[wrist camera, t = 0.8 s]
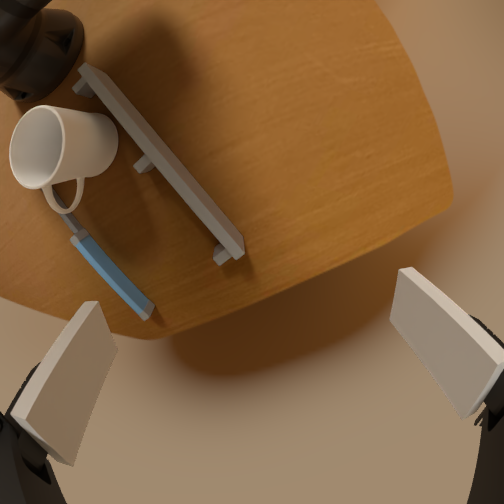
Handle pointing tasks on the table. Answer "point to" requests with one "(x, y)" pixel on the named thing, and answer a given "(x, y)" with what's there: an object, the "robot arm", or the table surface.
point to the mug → (61, 149)
